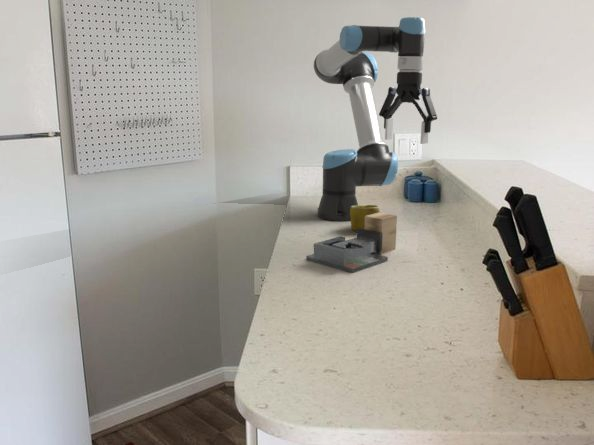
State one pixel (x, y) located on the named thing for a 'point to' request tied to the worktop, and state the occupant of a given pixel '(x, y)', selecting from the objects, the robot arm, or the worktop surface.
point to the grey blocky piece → (363, 240)
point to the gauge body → (345, 256)
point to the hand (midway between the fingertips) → (405, 141)
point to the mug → (361, 215)
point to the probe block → (383, 229)
